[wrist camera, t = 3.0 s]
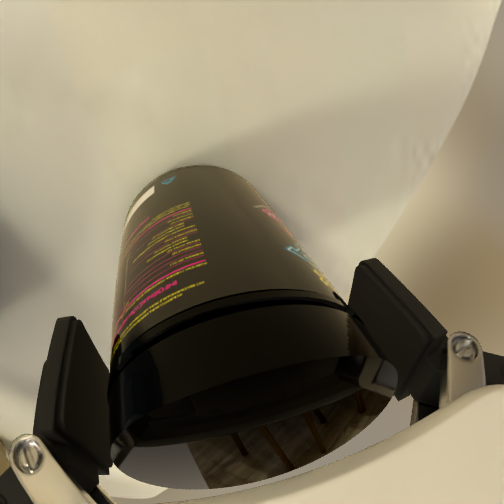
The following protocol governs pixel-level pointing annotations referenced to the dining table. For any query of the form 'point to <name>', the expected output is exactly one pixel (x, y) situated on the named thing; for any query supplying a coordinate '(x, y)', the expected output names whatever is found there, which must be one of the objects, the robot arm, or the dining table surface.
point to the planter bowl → (3, 460)
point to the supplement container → (229, 342)
